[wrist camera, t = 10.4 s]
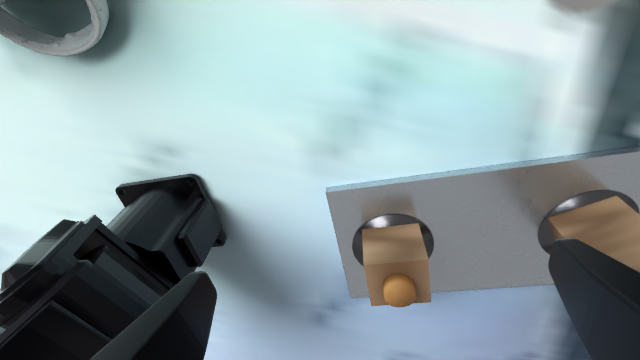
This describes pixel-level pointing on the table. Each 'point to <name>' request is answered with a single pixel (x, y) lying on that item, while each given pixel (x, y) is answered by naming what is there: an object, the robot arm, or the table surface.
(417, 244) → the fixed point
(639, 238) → the point post
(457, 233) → the plate
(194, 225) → the robot arm
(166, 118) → the table surface
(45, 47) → the ceramic mug
